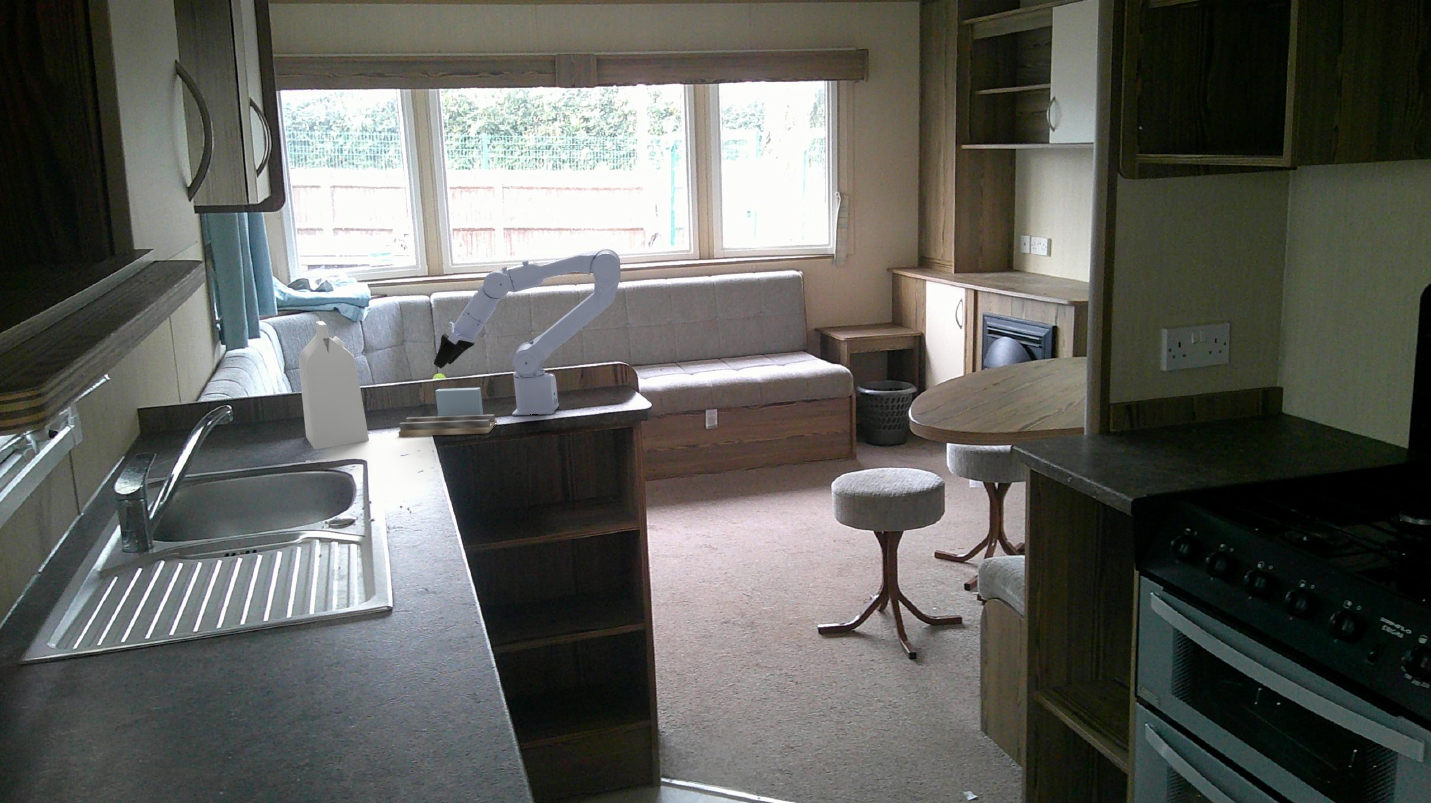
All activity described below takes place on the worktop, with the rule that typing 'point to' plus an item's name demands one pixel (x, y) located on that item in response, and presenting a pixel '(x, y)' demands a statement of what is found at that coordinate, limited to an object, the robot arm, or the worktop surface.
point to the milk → (331, 392)
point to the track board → (447, 425)
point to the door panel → (459, 402)
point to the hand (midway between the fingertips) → (442, 364)
